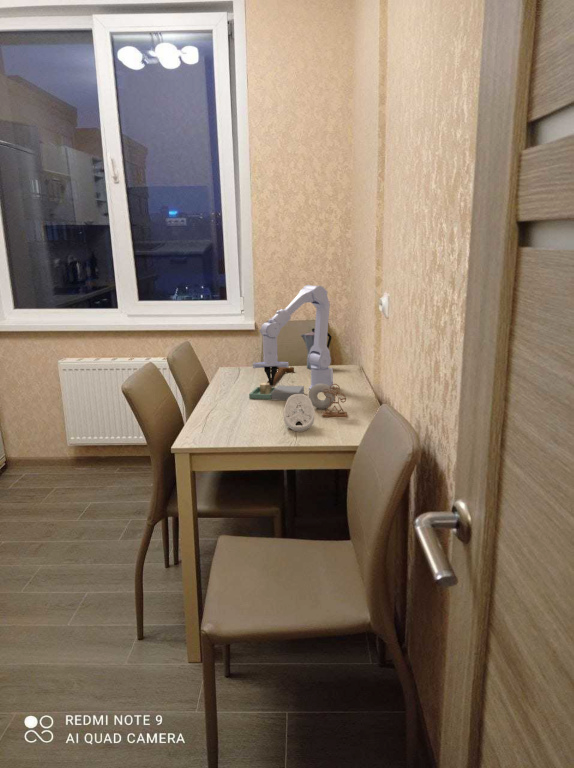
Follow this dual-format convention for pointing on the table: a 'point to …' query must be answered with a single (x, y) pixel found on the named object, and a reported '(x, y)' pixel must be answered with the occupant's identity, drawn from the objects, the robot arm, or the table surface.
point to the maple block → (265, 388)
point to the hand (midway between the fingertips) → (271, 384)
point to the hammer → (280, 372)
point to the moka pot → (312, 343)
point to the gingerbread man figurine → (334, 414)
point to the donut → (314, 399)
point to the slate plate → (286, 392)
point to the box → (256, 394)
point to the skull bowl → (299, 412)
